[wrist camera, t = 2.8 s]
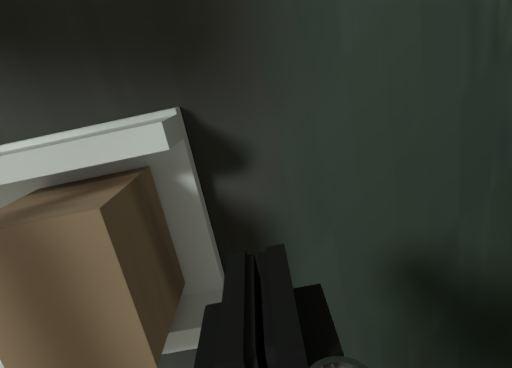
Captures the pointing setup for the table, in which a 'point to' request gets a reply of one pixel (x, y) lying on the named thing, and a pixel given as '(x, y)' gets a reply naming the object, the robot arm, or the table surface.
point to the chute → (167, 185)
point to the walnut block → (87, 275)
